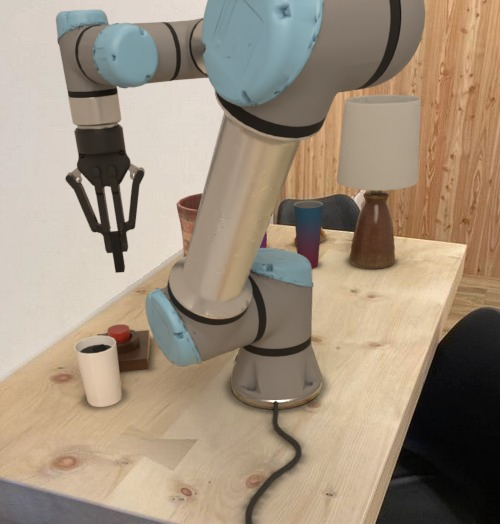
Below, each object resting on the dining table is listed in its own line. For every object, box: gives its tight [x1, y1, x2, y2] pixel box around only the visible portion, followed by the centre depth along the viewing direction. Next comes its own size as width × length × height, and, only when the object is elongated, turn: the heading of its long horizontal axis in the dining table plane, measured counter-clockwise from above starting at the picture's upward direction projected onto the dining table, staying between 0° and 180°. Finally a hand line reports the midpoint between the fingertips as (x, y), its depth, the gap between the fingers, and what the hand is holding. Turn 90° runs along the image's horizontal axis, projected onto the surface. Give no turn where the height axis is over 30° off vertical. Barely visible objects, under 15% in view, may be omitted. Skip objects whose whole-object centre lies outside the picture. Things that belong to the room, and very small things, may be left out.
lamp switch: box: [107, 323, 131, 343], centre depth 117 cm, size 4×4×2 cm
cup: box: [293, 199, 324, 269], centre depth 154 cm, size 7×7×15 cm
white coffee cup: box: [73, 335, 123, 408], centre depth 104 cm, size 7×7×10 cm
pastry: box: [294, 226, 328, 245], centre depth 172 cm, size 9×7×4 cm
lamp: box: [336, 94, 422, 270], centre depth 149 cm, size 19×19×37 cm
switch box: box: [96, 329, 151, 372], centre depth 118 cm, size 12×10×4 cm
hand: (120, 269), depth 112 cm, fingers closed
